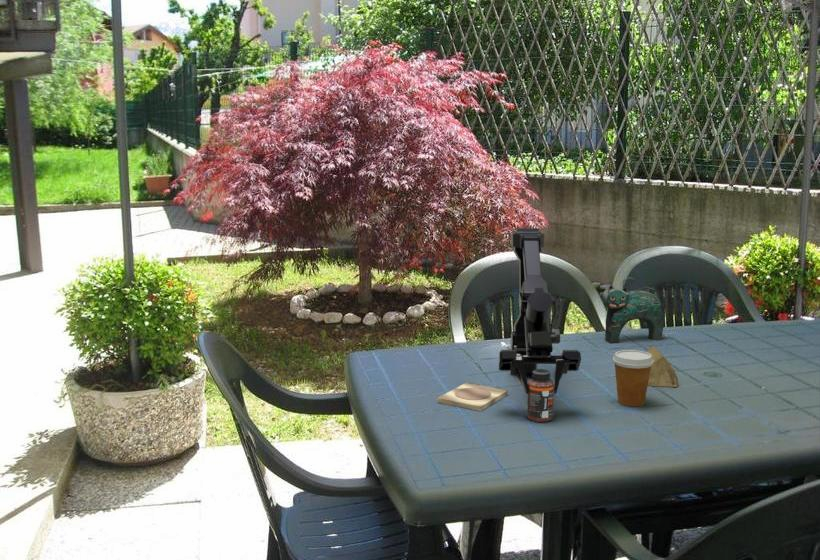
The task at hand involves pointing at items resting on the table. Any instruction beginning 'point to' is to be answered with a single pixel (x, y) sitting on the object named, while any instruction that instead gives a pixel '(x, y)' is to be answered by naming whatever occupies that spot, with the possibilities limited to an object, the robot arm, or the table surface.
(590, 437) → the table surface
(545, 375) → the supplement bottle
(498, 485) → the table surface
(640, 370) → the disposable coffee cup
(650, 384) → the rock
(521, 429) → the table surface
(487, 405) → the board
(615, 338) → the ceramic cat
